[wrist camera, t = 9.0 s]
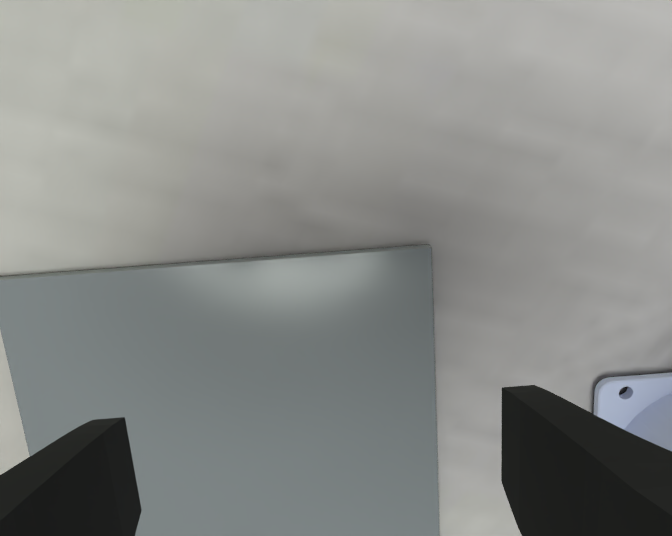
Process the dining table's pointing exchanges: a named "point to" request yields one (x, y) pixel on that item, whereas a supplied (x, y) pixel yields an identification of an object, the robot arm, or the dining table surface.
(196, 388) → the slate board
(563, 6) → the dining table surface
